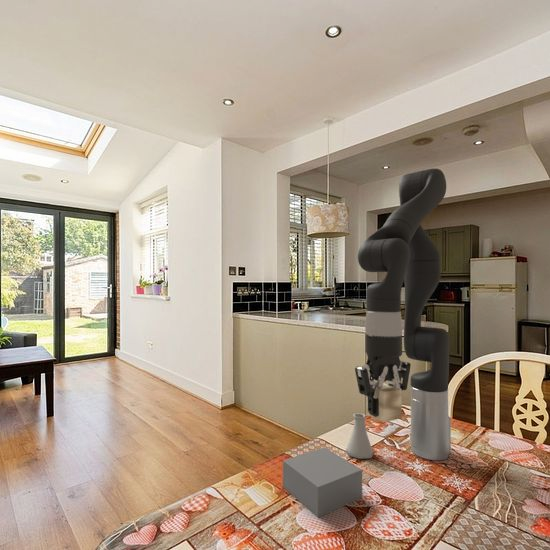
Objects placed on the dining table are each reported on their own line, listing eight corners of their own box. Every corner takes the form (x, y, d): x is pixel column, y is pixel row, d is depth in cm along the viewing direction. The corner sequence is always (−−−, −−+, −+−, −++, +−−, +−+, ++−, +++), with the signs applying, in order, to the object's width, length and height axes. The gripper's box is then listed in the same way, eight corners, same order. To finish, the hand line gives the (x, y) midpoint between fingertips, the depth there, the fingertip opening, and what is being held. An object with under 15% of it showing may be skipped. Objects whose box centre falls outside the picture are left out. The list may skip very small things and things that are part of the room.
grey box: (324, 472, 83) (324, 447, 83) (362, 498, 73) (362, 469, 73) (282, 488, 77) (282, 460, 77) (317, 519, 67) (317, 487, 67)
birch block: (384, 410, 77) (383, 383, 77) (401, 418, 73) (401, 389, 73) (366, 414, 75) (366, 385, 75) (383, 422, 70) (383, 392, 71)
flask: (374, 461, 88) (374, 421, 88) (345, 458, 90) (345, 419, 90) (372, 448, 95) (372, 411, 95) (345, 445, 97) (345, 409, 97)
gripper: (394, 328, 81) (394, 402, 80) (345, 332, 74) (345, 412, 74) (421, 332, 74) (422, 413, 74) (370, 336, 68) (370, 425, 67)
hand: (383, 412), depth 74 cm, fingers closed on birch block, 5 cm apart
